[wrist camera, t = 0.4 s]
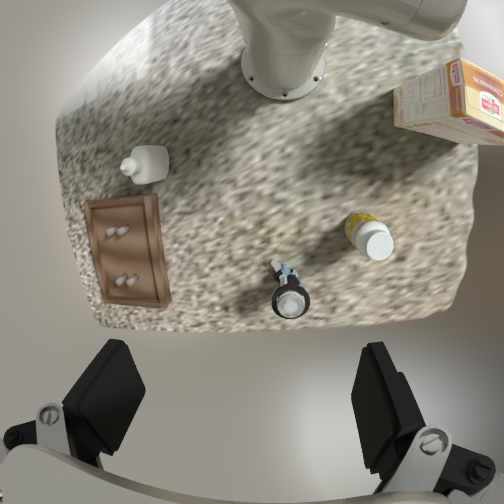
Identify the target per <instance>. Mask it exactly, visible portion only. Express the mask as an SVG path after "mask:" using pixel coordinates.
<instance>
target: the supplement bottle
mask: <svg viewBox="0 0 504 504" xmlns="http://www.w3.org/2000/svg"><path fill="white" fill-rule="evenodd" d="M345 233H346V236H347V238H348V239H349V240H350V241H351V243H352V244H353V245H354V246H355V248H356V249H357V250H358V251H359V252H360V253H361V254H362V255H363V256H365V257H368V258H371V259H373V260H376V261H380V260H384V259H385V258H387V257H388V256H389V255H390V254H391V252H392V250H393V240H392V237H391V236H390V233H389V231H388V229H387V227H386V226H385V225H384V224H382V223H381V222H380V221H378V220H377V219H375V218H374V217H372V216H371V215H369V214H368V213H365V212H356V213H354V214H352V215H351V216H350V217H349V218H348V219H347V221H346V224H345Z"/></svg>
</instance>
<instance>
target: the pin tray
mask: <svg viewBox="0 0 504 504" xmlns="http://www.w3.org/2000/svg"><path fill="white" fill-rule="evenodd" d="M84 209H85V216H86V222H87V228H88V234H89V239H90V244H91V249H92V254H93V259H94V263H95V268H96V272H97V276H98V280H99V284H100V288H101V292H102V295H103V299H104V302H105V303H112V304H121V305H131V306H141V307H153V308H165V309H166V308H167V307H168V305H169V304H170V302H171V301H172V300H171V294H170V288H169V283H168V276H167V270H166V264H165V257H164V250H163V242H162V234H161V226H160V217H159V208H158V197H157V193H153V194H141V195H130V196H121V197H111V198H103V199H94V200H91V201H88V202H85V203H84Z"/></svg>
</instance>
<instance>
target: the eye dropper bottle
mask: <svg viewBox="0 0 504 504" xmlns="http://www.w3.org/2000/svg"><path fill="white" fill-rule="evenodd" d="M120 169H121V171H122V173H123V174H124V175H126V176H131V179H132V181H133V183H134V184H137V185H142V184H149V183H152V182H156V181H160V180H164V179H165V178H166V176H167V174H168V170H169V154H168V151H167V148H166V147H165V146H156V145H142V146H136V147H134V148H133V150H132V152H131V155H130V157H128V158H125V159H124V160H123V161H122V163H121V166H120Z"/></svg>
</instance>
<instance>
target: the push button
mask: <svg viewBox="0 0 504 504" xmlns="http://www.w3.org/2000/svg"><path fill="white" fill-rule="evenodd" d="M271 265H272V266H273V265H274V266H273V267H274V268H275V269H274V270H275V271H276V272H275V273H274V278H275V279H276V280H277V281H278V282H279V286H280V287H279V288H277V290H276V291H275V293H274V295H273V297H272V308H273V310H274V312H275V313H276V314H277V315H278V316H280V317H282V318H285V319H295V318H298V317H300V316H302V315H303V314H305V313H306V311H307V310H308V308H309V306H310V298H309V295H308V293H307V292H306V291H305V289H304V288H303V287H302V285H301V282H300V280H298V278H297V277H298V274H297V272H296V271H295V270H294V269H293V273H292V272H291V271H290V270H289V269H288V267H287V266H286V265H285V264H282V265H281V264H280V263H278V262H277V261H276V260H275V259H274V260H272V261H271ZM302 294H303V295H302ZM303 296H304V297H305V300H304V298H303ZM277 297H278V300H277V302H276V299H277Z"/></svg>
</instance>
